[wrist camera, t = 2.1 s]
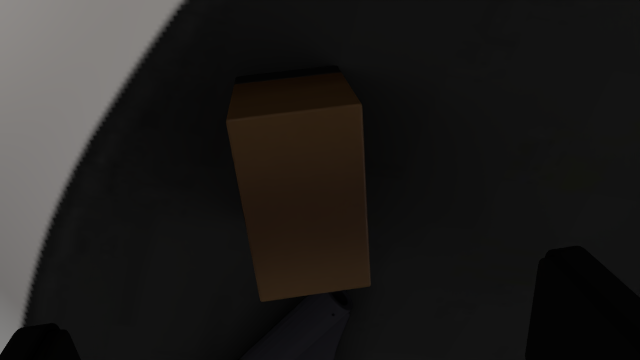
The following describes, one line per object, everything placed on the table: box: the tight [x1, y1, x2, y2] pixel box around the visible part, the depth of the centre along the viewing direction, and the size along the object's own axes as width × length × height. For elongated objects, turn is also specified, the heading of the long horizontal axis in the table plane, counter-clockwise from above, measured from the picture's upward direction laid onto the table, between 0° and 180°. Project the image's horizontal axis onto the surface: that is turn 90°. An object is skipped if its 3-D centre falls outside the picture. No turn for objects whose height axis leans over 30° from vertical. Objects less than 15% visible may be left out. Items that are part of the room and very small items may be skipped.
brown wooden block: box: [226, 66, 371, 302], centre depth 15 cm, size 6×4×4 cm, turn 5°
